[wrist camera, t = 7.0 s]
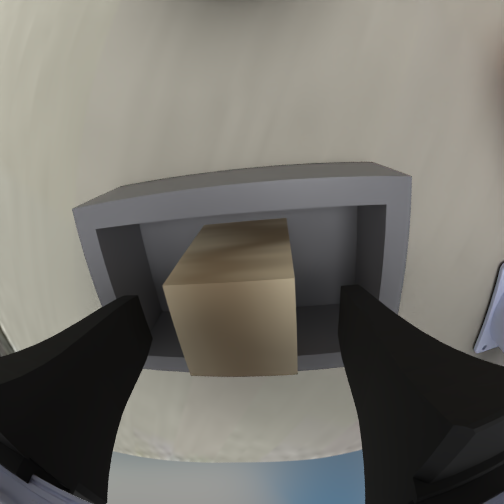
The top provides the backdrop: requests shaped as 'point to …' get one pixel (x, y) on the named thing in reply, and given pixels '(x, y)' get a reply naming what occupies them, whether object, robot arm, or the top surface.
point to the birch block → (236, 300)
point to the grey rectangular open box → (249, 209)
